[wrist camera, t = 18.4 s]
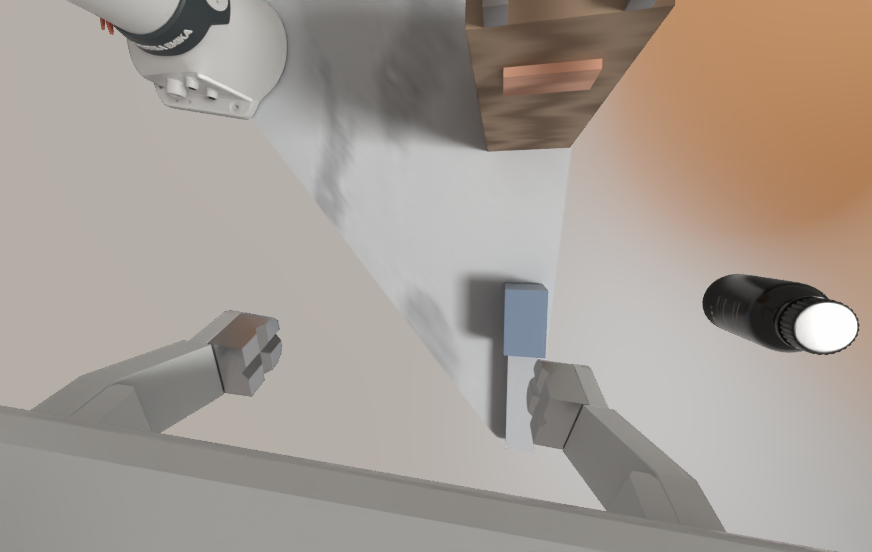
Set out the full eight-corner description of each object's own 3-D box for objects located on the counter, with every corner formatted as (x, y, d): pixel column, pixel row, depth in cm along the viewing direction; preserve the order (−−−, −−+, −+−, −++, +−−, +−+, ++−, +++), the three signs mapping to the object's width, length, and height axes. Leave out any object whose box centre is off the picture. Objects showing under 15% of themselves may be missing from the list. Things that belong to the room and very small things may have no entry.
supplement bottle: (757, 265, 39) (867, 277, 27) (772, 321, 39) (887, 357, 28) (692, 282, 40) (769, 300, 29) (707, 336, 41) (789, 375, 29)
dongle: (501, 438, 47) (500, 464, 42) (504, 283, 45) (505, 289, 39) (536, 442, 46) (540, 469, 41) (542, 284, 44) (548, 290, 38)
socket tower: (487, 156, 43) (461, 23, 16) (489, 43, 42) (465, -308, 15) (569, 152, 41) (691, -5, 15) (575, 33, 40) (723, -389, 13)
